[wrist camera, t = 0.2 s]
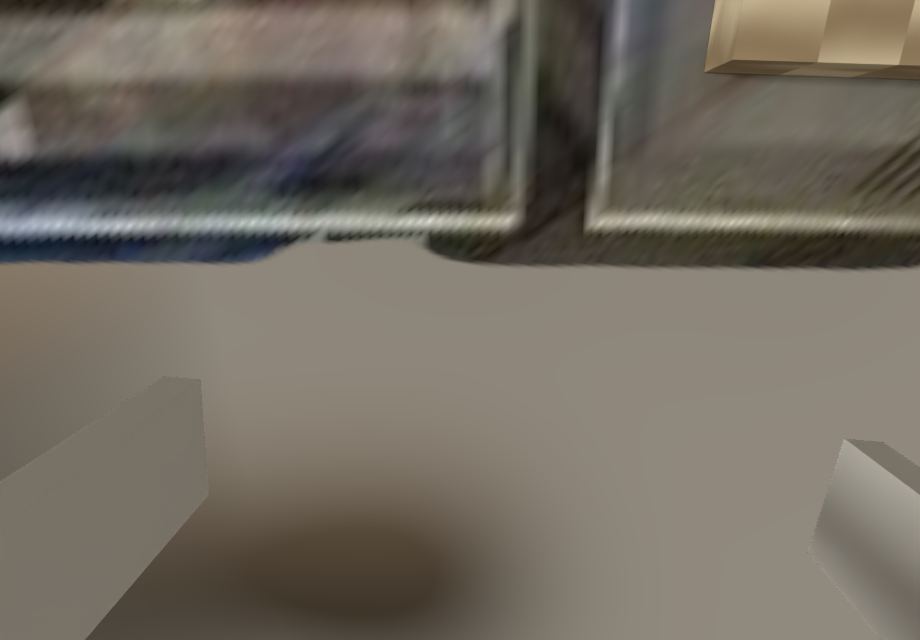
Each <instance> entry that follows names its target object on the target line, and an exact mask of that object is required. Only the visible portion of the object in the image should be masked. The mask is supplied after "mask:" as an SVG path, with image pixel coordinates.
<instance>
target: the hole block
mask: <svg viewBox="0 0 920 640" xmlns="http://www.w3.org/2000/svg"><path fill="white" fill-rule="evenodd" d="M704 73H734V74H764V75H794V76H824V77H854V78H884V79H914V80H920V0H715V6H714V13H713V19H712V25H711V32H710V38H709V44H708V51H707V57H706V63H705V70H704Z"/></svg>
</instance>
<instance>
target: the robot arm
mask: <svg viewBox="0 0 920 640" xmlns="http://www.w3.org/2000/svg"><path fill="white" fill-rule="evenodd" d="M208 494H209V491H208V479H207V464H206V451H205V437H204V423H203V409H202V394H201V380H199V379H198V380H197V379H188V378H177V377H166V376H164V377H162V378H161V379H159V380H157V381H156V382H154V383H153V384H151V385H150V386H148V387H147V388H145V389H144V390H142V391H140V392H139V393H137V394H136V395H134V396H133V397H131V398H129V399H128V400H126V401H125V402H123V403H122V404H120V405H119V406H117V407H115V408H114V409H112V410H111V411H109V412H108V413H106V414H105V415H103V416H101V417H100V418H98V419H97V420H95V421H94V422H92V423H91V424H89V425H87V426H86V427H84V428H83V429H81V430H80V431H78V432H76V433H75V434H73V435H72V436H70V437H69V438H67V439H66V440H64V441H62V442H61V443H59V444H58V445H56V446H55V447H53V448H51V449H50V450H48V451H47V452H45V453H44V454H42V455H41V456H39V457H38V458H36V459H34V460H33V461H31V462H30V463H28V464H27V465H25V466H24V467H22V468H20V469H19V470H17V471H16V472H14V473H13V474H11V475H9V476H8V477H6V478H5V479H3V480H2V481H1V482H0V640H85V639H86V638H87V637H88V635H89V634H90V633H91V632H92V631H93V629H94V628H95V627H96V626H97V625H98V624H99V622H100V621H101V620H102V619H103V618H104V617H105V615H106V614H107V613H108V612H109V611H110V610H111V608H112V607H113V606H114V605H115V604H116V602H117V601H118V600H119V599H120V598H121V597H122V595H123V594H124V593H125V592H126V591H127V590H128V588H129V587H130V586H131V585H132V584H133V583H134V581H135V580H136V579H137V578H138V576H140V574H141V573H142V572H143V571H144V570H145V569H146V567H147V566H148V565H149V564H150V563H151V561H152V560H153V559H154V558H155V557H156V555H157V554H158V553H159V552H160V551H161V550H162V548H163V547H164V546H165V545H166V544H167V543H168V541H169V540H170V539H171V538H172V537H173V536H174V534H175V533H176V532H177V531H178V530H179V529H180V527H181V526H182V525H183V524H184V523H185V522H186V520H187V519H188V518H189V517H190V516H191V515H192V513H193V512H194V511H195V510H196V509H197V508H198V506H199V505H200V504H201V503H202V502H203V500H204V499H205V498H206V497H207V496H208ZM807 553H808V554H809V555H810V556H811V557H812V559H813V560H814V561H815V562H816V563H817V564H818V566H819V567H820V568H821V569H822V570H823V572H825V574H826V575H827V576H828V577H829V579H830V580H831V581H832V582H833V583H834V584H835V586H836V587H837V588H838V589H839V590H840V592H841V593H842V594H843V595H844V596H845V598H846V599H847V600H848V601H849V602H850V604H851V605H852V606H853V607H854V608H855V609H856V610H857V612H858V613H859V614H860V615H861V617H863V619H864V620H865V621H866V622H867V623H868V625H869V626H870V627H871V628H872V630H873V631H874V632H875V633H876V634H877V636H878V637H879V638H880V639H881V640H920V467H919V466H917V465H916V464H914V463H913V462H911V461H910V460H908V459H907V458H905V457H904V456H903V455H901V454H900V453H898V452H897V451H895V450H894V449H892V448H891V447H889V446H888V445H886V444H885V443H884V442H874V441H864V440H853V439H844V442H843V445H842V448H841V451H840V454H839V457H838V460H837V463H836V466H835V469H834V472H833V475H832V478H831V482H830V484H829V487H828V490H827V494H826V497H825V500H824V503H823V506H822V509H821V512H820V515H819V518H818V521H817V524H816V527H815V530H814V534H813V536H812V539H811V542H810V546H809V549H808V552H807Z"/></svg>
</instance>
